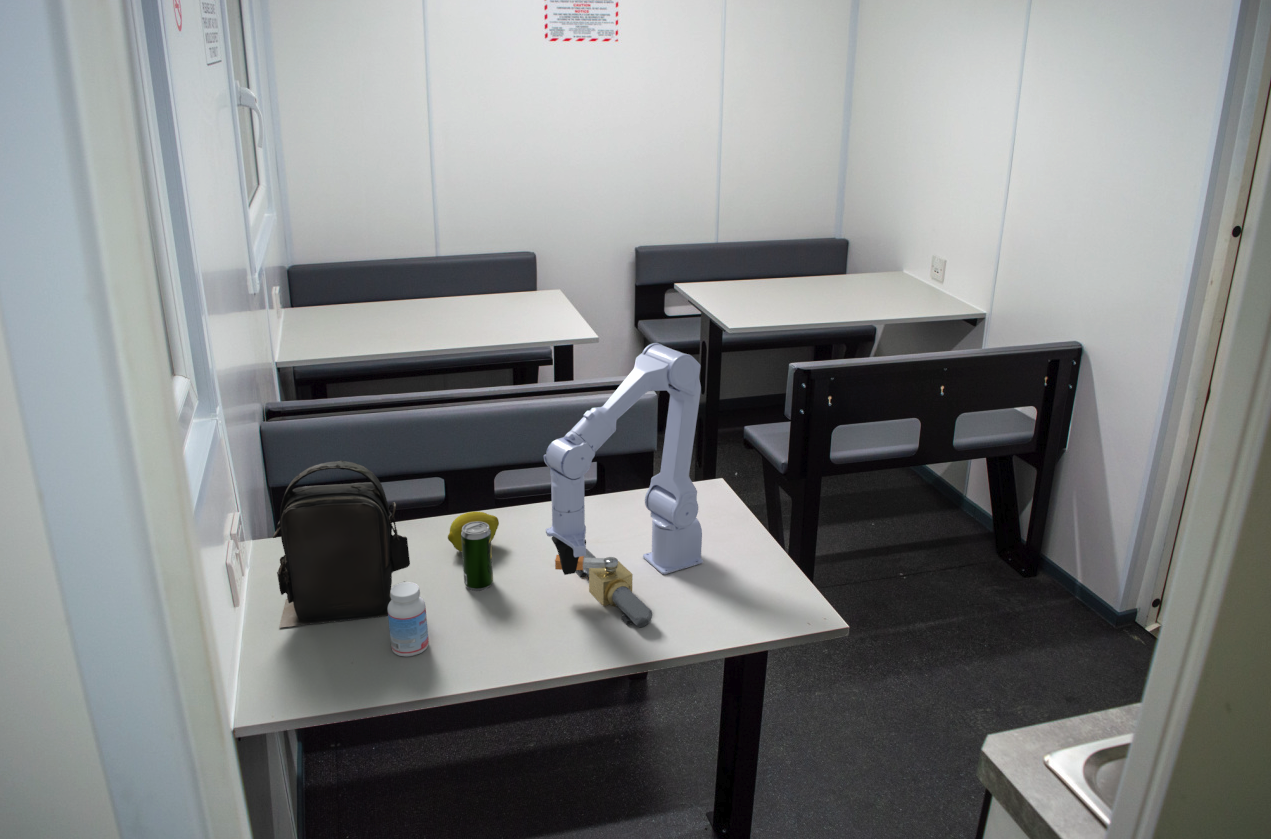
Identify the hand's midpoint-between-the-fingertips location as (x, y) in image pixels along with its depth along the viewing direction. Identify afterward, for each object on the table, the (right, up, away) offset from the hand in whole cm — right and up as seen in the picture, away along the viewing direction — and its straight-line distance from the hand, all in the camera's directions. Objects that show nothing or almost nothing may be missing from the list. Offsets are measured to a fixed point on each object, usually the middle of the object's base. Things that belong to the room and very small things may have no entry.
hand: (569, 572), depth 161 cm
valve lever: (+3, 0, +2) cm, 4 cm away
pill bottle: (-26, -11, -12) cm, 30 cm away
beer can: (-17, -4, +7) cm, 19 cm away
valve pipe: (+7, -5, +4) cm, 10 cm away
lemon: (-20, +1, +19) cm, 28 cm away
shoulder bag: (-39, -6, -1) cm, 40 cm away
